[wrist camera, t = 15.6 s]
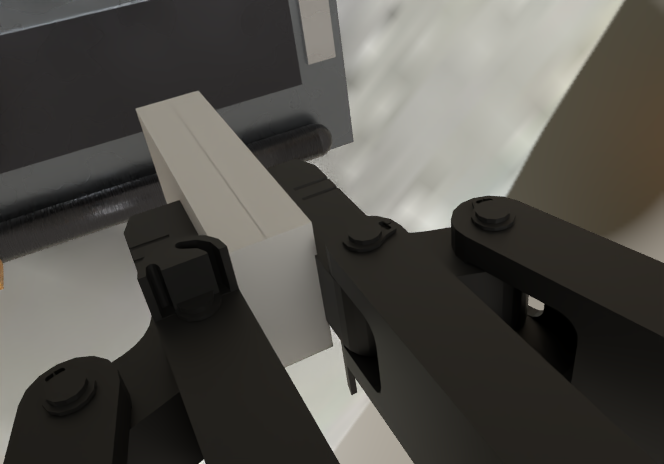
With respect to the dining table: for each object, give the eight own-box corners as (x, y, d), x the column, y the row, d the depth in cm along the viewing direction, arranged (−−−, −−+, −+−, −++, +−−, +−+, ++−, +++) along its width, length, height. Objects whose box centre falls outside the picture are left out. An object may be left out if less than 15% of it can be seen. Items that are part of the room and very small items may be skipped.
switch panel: (-138, 266, 24) (-160, 333, 21) (-349, -32, 18) (-431, -6, 15) (325, 119, 30) (368, 153, 26) (286, -147, 24) (335, -147, 20)
